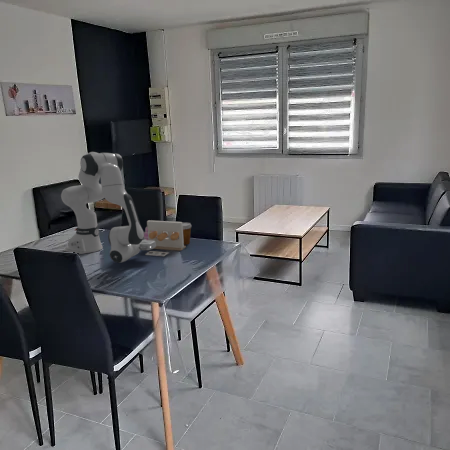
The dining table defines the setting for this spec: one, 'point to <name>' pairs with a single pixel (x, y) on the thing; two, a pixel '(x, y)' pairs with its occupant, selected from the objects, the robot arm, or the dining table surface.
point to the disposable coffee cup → (186, 232)
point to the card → (157, 253)
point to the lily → (146, 234)
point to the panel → (170, 228)
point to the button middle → (162, 236)
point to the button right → (174, 236)
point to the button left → (153, 235)
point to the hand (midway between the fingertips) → (144, 240)
